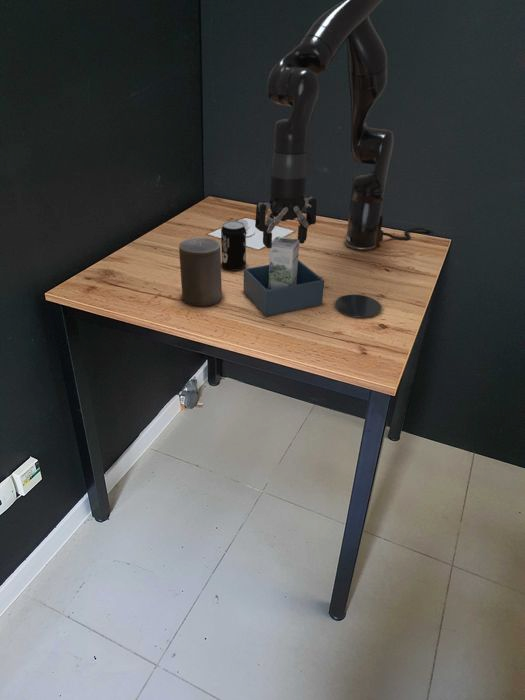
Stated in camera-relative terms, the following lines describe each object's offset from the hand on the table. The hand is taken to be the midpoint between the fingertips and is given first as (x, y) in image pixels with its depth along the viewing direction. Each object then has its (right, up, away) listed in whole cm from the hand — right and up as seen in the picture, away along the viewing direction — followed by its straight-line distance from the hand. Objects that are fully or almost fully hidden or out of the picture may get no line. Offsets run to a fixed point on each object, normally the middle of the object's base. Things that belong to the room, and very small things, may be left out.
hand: (284, 244), depth 116 cm
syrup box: (0, -11, +8) cm, 14 cm away
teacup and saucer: (-9, +13, +45) cm, 48 cm away
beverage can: (-13, -1, +23) cm, 27 cm away
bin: (0, -12, +8) cm, 14 cm away
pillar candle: (-20, -12, +8) cm, 24 cm away
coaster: (+18, -14, +5) cm, 23 cm away
